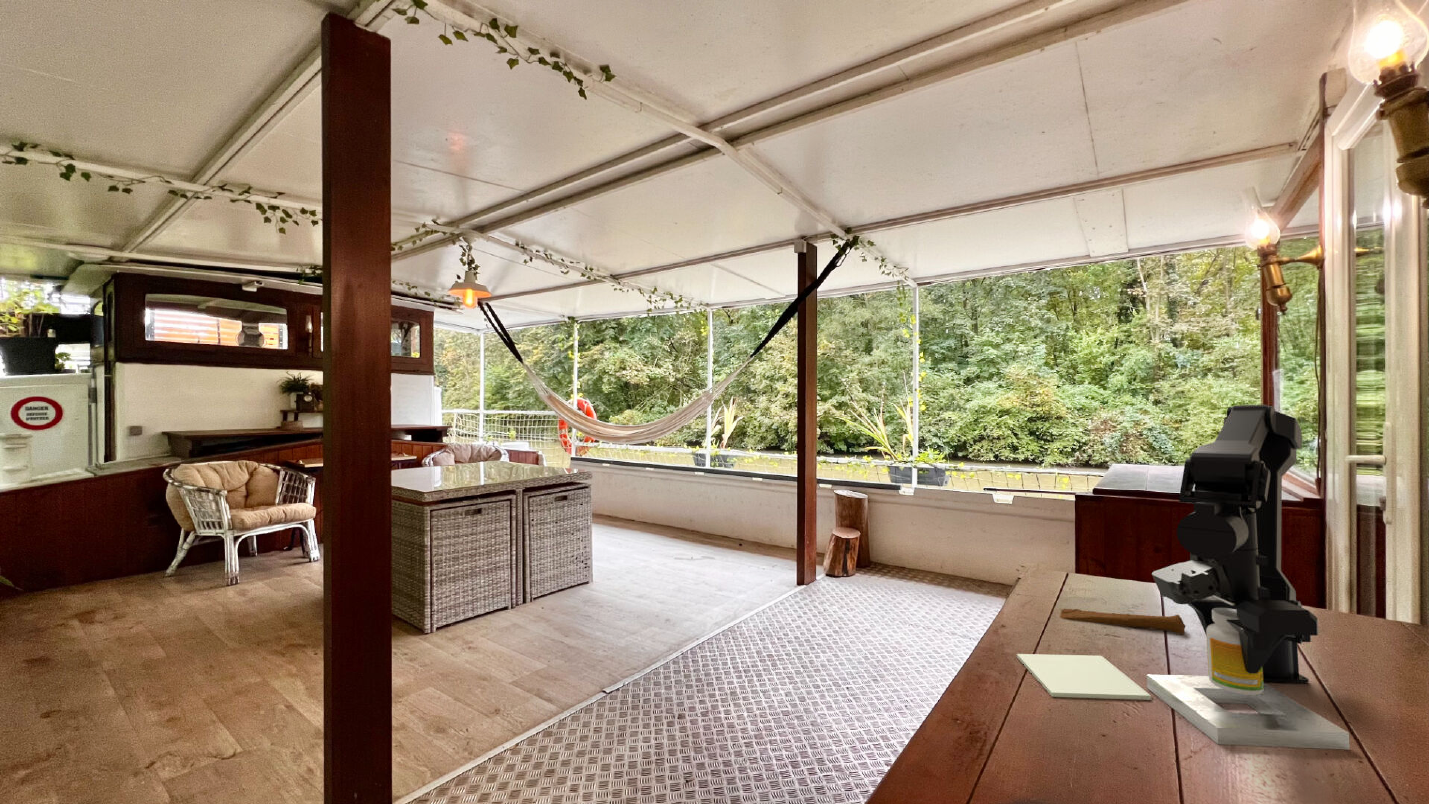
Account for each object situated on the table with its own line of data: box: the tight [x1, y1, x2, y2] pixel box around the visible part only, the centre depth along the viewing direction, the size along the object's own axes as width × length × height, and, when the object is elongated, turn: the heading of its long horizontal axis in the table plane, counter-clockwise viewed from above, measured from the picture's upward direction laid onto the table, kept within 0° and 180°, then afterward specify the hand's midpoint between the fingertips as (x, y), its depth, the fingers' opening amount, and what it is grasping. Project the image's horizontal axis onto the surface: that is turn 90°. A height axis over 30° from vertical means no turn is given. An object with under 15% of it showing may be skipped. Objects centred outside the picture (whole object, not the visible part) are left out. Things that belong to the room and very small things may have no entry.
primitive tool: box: [1059, 608, 1186, 636], centre depth 107 cm, size 19×6×4 cm, turn 57°
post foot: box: [1146, 674, 1351, 751], centre depth 75 cm, size 14×14×2 cm
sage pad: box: [1016, 653, 1152, 701], centre depth 87 cm, size 13×13×1 cm
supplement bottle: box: [1205, 608, 1264, 695], centre depth 75 cm, size 5×5×10 cm
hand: (1234, 662), depth 75 cm, fingers closed on supplement bottle, 5 cm apart
